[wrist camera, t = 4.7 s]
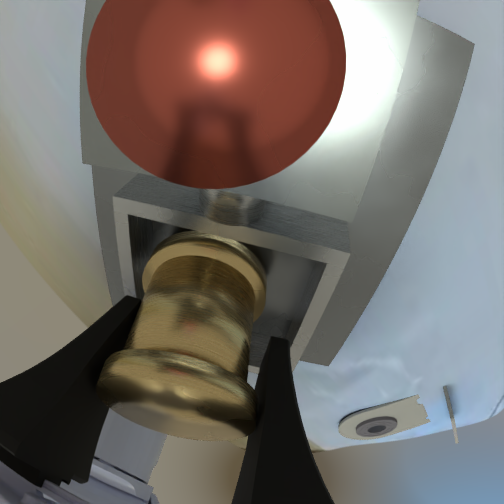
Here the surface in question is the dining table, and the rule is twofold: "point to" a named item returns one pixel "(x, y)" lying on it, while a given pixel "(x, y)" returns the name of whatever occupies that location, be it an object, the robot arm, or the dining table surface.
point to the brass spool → (191, 341)
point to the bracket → (389, 419)
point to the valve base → (334, 165)
